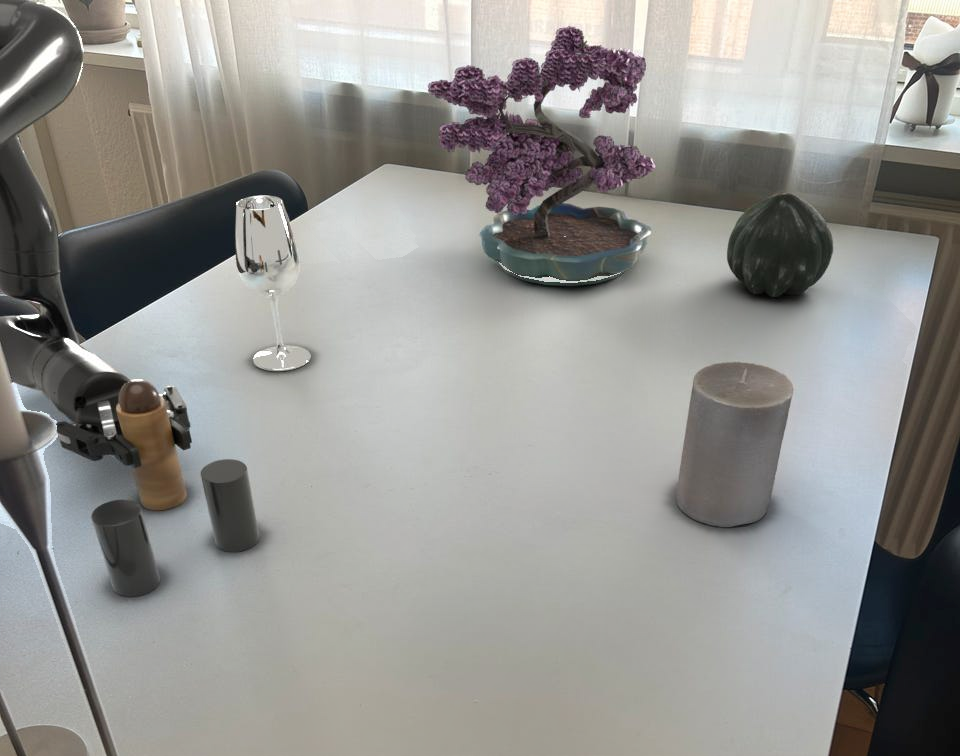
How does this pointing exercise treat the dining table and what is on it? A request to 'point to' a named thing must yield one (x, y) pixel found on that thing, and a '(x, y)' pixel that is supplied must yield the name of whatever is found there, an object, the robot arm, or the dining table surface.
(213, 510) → the grey upright cylinder
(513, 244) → the bonsai tree
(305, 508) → the dining table surface
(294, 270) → the wineglass
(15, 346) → the robot arm
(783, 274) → the squash
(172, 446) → the pepper mill
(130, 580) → the dark grey upright cylinder
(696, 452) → the pillar candle
